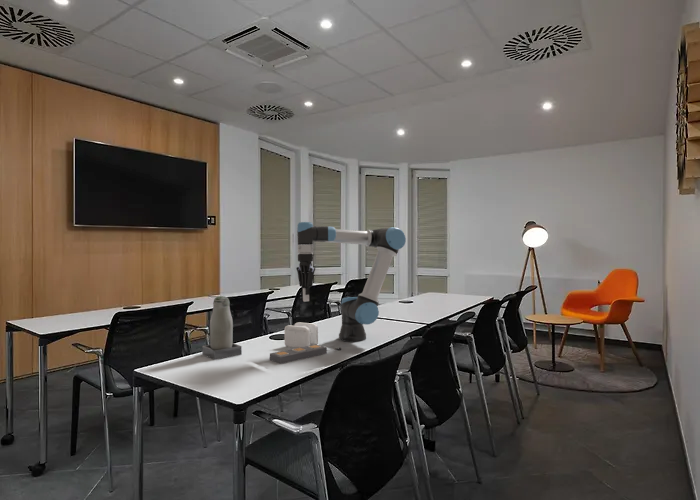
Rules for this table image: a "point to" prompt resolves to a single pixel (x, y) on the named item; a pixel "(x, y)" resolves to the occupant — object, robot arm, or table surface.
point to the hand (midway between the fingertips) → (306, 301)
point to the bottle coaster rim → (221, 352)
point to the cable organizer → (301, 334)
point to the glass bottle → (221, 324)
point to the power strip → (299, 354)
